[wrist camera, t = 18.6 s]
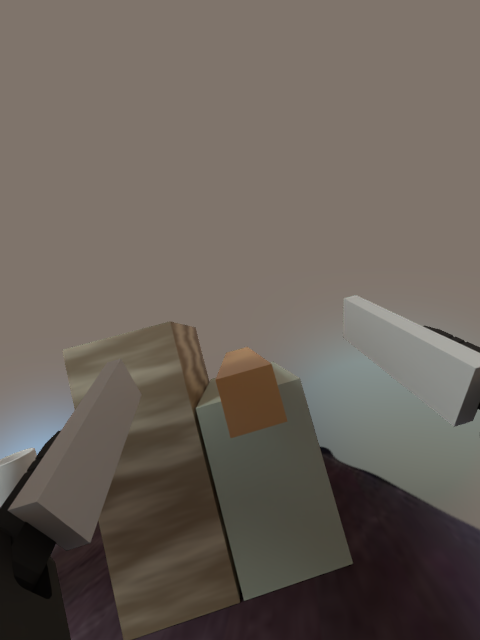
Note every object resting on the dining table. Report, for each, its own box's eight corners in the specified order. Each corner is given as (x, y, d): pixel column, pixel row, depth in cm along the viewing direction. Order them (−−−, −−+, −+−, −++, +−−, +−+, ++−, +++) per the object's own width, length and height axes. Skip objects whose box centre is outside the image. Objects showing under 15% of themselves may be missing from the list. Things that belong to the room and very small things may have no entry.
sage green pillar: (353, 563, 22) (299, 378, 24) (243, 601, 22) (195, 408, 23) (302, 468, 38) (273, 361, 40) (239, 488, 38) (210, 379, 39)
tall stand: (240, 602, 22) (170, 321, 24) (124, 642, 21) (62, 349, 23) (237, 489, 38) (195, 327, 40) (171, 510, 37) (132, 344, 39)
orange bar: (287, 421, 14) (271, 363, 15) (230, 438, 14) (215, 379, 14) (253, 368, 38) (247, 346, 38) (231, 374, 38) (226, 352, 38)
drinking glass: (36, 519, 45) (22, 448, 46) (57, 519, 43) (43, 445, 44) (-10, 554, 38) (-24, 470, 39) (14, 555, 36) (-2, 467, 37)
